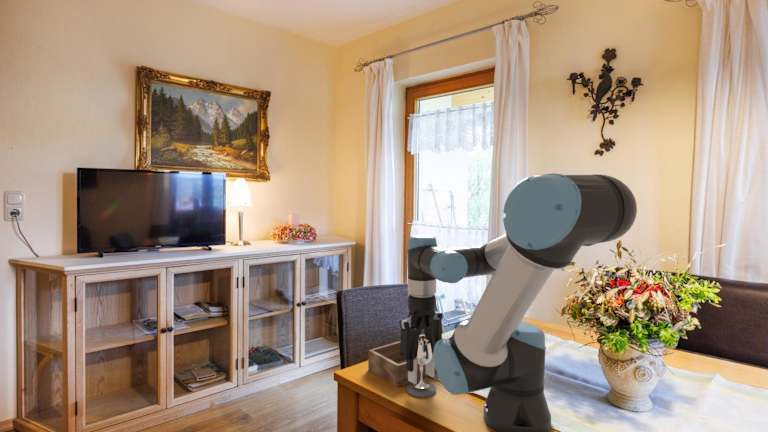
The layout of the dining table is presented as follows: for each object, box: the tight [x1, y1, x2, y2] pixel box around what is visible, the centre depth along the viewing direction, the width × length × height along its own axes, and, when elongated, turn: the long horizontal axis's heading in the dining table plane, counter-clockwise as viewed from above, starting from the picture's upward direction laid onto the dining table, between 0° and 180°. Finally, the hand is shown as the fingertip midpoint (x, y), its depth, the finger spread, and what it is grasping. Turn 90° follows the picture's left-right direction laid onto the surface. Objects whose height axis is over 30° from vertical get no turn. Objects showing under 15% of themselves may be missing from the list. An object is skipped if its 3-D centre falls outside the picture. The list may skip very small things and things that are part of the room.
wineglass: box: [413, 339, 432, 389], centre depth 116 cm, size 6×6×12 cm
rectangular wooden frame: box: [367, 333, 437, 388], centre depth 130 cm, size 14×22×6 cm, turn 127°
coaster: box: [405, 381, 437, 398], centre depth 117 cm, size 8×8×1 cm
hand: (421, 378), depth 116 cm, fingers closed on wineglass, 6 cm apart
